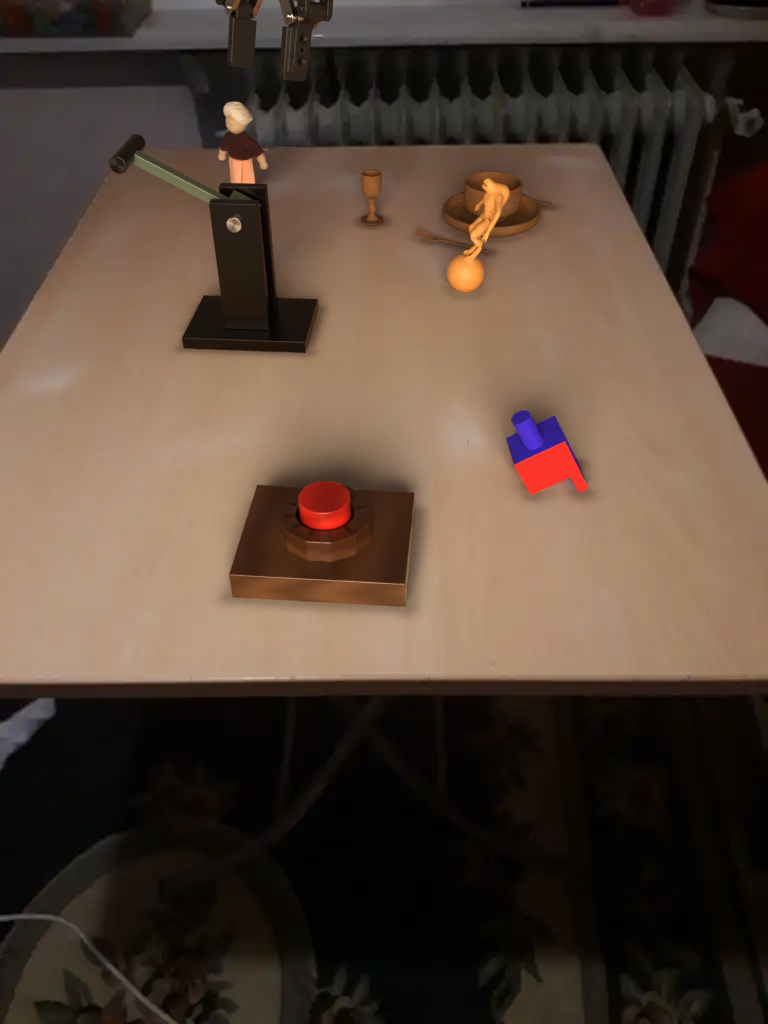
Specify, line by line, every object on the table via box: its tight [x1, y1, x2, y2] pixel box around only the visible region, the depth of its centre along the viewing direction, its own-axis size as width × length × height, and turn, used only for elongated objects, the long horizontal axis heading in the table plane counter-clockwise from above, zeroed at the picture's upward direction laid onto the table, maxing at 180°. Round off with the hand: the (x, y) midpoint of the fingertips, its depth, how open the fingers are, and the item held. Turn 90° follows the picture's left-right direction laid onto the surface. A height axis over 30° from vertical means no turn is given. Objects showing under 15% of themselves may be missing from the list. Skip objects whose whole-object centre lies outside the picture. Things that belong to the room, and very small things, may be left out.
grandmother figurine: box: [217, 101, 269, 184], centre depth 115 cm, size 8×4×13 cm, turn 67°
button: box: [298, 480, 351, 531], centre depth 66 cm, size 4×4×2 cm
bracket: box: [181, 182, 320, 354], centre depth 91 cm, size 12×9×14 cm
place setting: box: [360, 169, 553, 253], centre depth 115 cm, size 18×20×6 cm
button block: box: [228, 483, 416, 608], centre depth 68 cm, size 12×10×4 cm
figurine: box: [446, 178, 510, 293], centre depth 97 cm, size 8×6×12 cm
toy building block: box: [505, 409, 589, 496], centre depth 74 cm, size 4×4×8 cm
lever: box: [108, 133, 261, 206], centre depth 86 cm, size 13×6×2 cm, turn 85°
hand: (265, 73), depth 78 cm, fingers open, 8 cm apart
